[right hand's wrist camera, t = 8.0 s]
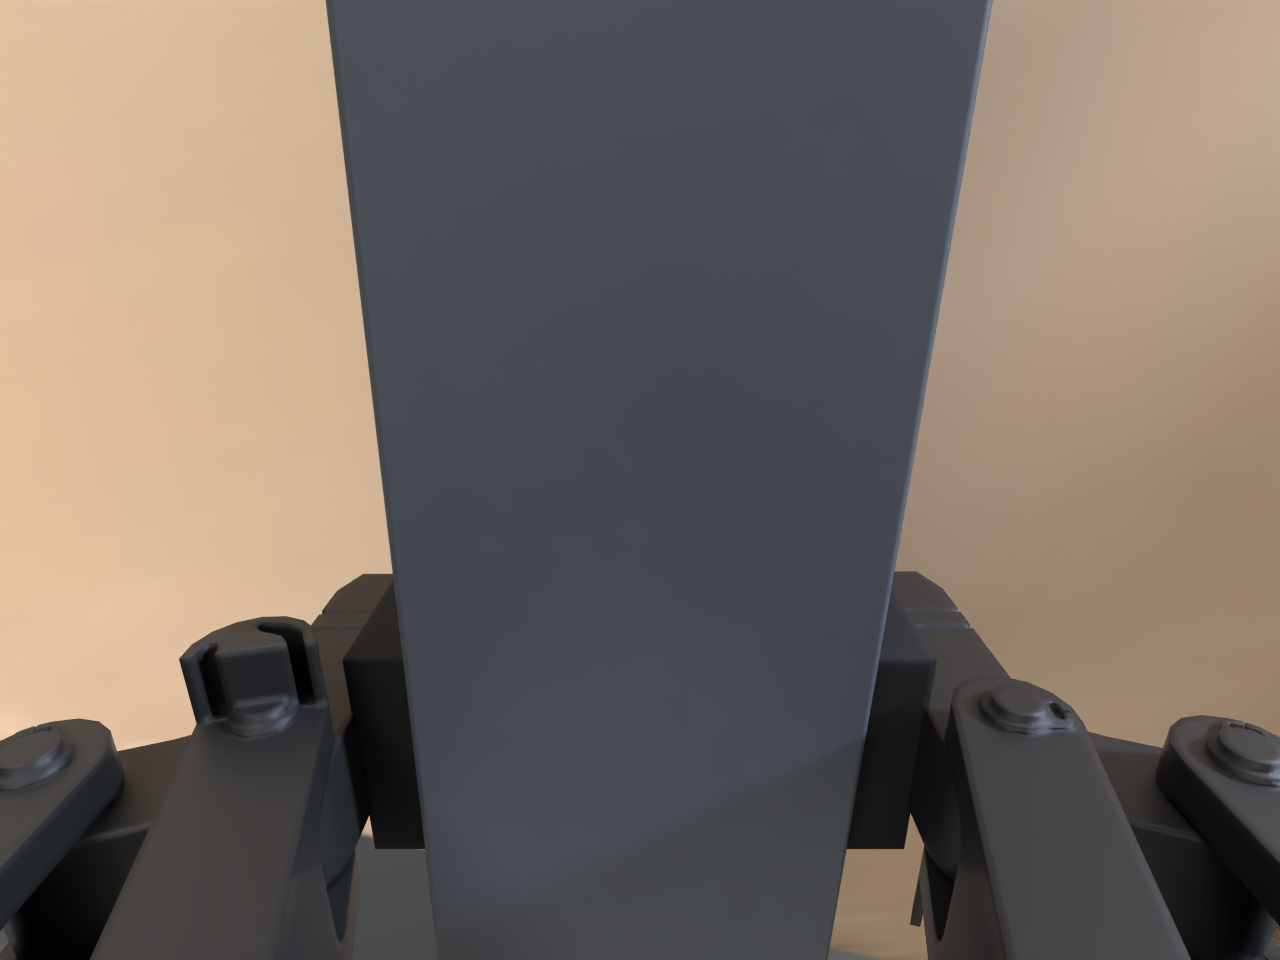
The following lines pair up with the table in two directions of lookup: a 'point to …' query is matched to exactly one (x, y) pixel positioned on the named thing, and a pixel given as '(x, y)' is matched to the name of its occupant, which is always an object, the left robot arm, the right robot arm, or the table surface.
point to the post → (647, 437)
